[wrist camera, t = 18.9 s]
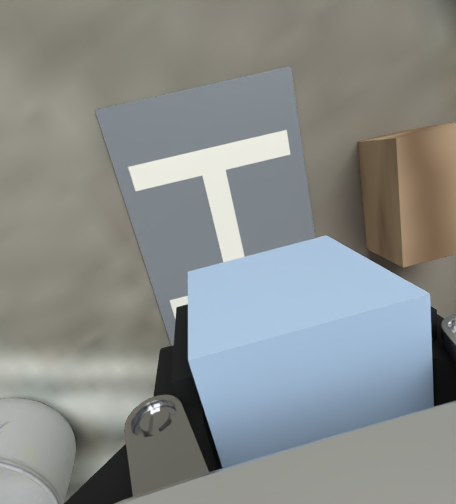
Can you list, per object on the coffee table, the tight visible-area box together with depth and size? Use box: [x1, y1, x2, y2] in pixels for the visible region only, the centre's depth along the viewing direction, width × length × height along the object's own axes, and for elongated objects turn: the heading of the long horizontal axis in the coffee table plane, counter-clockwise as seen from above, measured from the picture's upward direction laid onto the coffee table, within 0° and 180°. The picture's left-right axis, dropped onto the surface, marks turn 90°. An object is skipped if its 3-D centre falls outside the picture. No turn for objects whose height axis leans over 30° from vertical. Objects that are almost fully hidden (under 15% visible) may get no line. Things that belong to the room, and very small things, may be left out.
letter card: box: [95, 66, 315, 346], centre depth 25 cm, size 14×21×1 cm, turn 13°
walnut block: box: [358, 123, 456, 268], centre depth 24 cm, size 5×9×5 cm, turn 13°
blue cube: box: [188, 235, 434, 468], centre depth 9 cm, size 5×5×5 cm
